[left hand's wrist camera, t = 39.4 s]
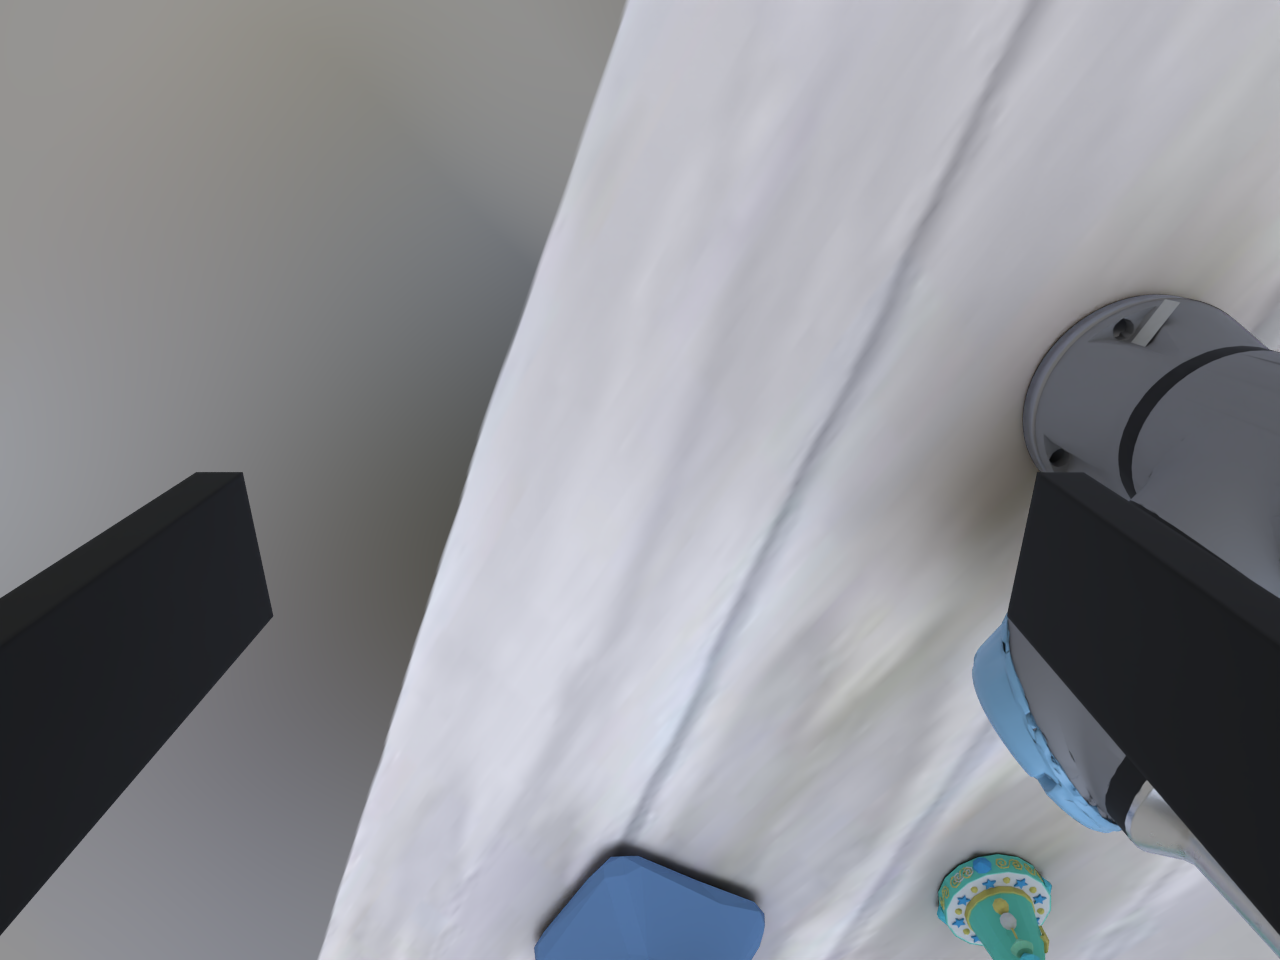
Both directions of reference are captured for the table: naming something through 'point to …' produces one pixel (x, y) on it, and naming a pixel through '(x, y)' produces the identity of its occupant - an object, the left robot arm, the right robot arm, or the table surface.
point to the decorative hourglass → (998, 906)
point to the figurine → (651, 918)
